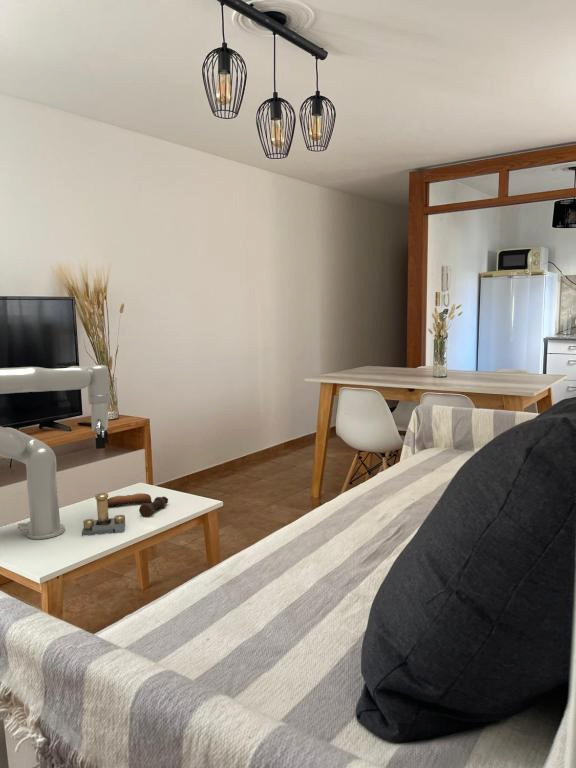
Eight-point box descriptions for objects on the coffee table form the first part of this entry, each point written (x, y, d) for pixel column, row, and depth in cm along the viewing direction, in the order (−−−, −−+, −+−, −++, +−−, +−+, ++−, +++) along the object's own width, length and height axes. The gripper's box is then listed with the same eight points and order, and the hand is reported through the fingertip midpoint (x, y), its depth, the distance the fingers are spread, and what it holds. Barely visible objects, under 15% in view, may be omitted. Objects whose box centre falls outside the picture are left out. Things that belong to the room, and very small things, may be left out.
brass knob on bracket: (82, 536, 203) (81, 523, 202) (84, 528, 209) (84, 516, 209) (124, 531, 205) (123, 519, 205) (126, 524, 212) (125, 513, 212)
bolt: (167, 509, 234) (147, 520, 220) (157, 502, 235) (136, 513, 221) (173, 497, 233) (153, 508, 218) (163, 490, 234) (143, 500, 220)
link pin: (96, 533, 205) (94, 497, 203) (98, 528, 209) (95, 493, 207) (109, 532, 206) (107, 496, 204) (111, 527, 210) (108, 492, 208)
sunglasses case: (150, 497, 244) (150, 486, 240) (152, 510, 238) (151, 498, 234) (105, 502, 239) (104, 490, 235) (106, 515, 234) (104, 504, 230)
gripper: (91, 396, 220) (94, 441, 222) (84, 403, 203) (88, 451, 205) (112, 395, 222) (115, 439, 224) (107, 402, 205) (110, 449, 207)
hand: (102, 445), depth 215 cm, fingers open, 9 cm apart
